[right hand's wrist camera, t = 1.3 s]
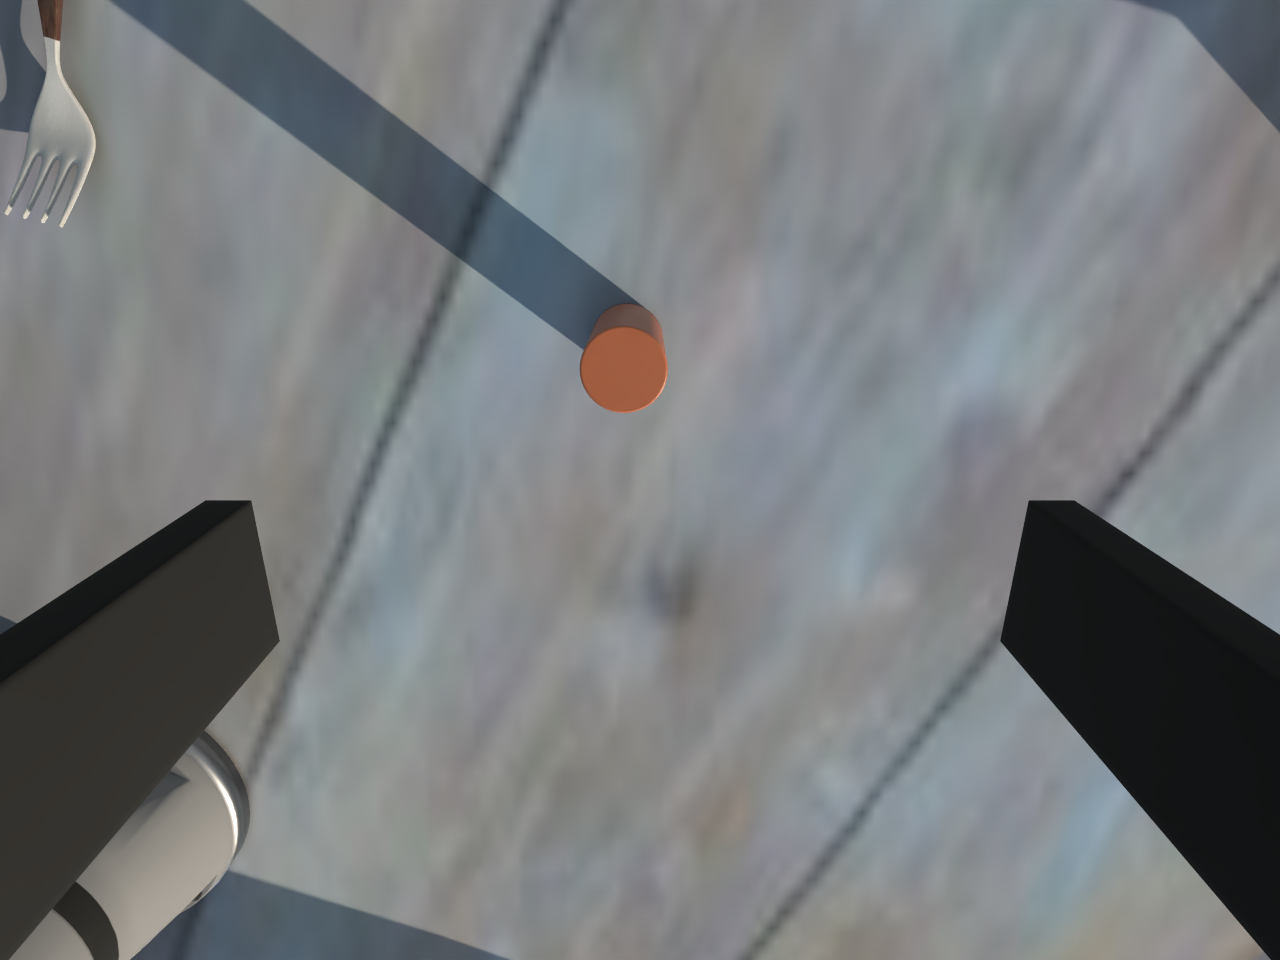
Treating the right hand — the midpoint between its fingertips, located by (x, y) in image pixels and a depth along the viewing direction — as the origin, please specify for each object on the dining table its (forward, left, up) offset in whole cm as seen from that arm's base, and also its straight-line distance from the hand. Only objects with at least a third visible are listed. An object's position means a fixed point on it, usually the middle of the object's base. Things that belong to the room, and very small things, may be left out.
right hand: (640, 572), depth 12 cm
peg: (-1, +1, -22) cm, 22 cm away
